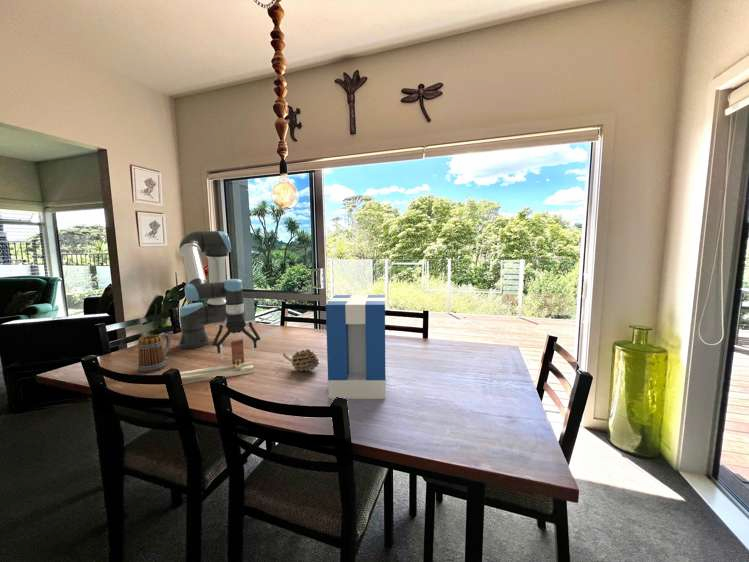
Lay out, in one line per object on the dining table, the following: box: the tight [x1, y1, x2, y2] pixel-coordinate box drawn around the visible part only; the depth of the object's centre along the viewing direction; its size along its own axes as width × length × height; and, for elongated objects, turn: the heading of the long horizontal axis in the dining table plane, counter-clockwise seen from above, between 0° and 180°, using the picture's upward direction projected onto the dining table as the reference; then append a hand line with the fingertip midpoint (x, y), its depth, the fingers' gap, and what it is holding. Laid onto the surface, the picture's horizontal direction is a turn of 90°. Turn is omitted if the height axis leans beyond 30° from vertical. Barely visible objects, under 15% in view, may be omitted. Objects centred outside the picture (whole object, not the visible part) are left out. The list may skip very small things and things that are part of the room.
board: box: [179, 361, 254, 385], centre depth 137 cm, size 9×30×2 cm, turn 114°
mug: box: [137, 332, 171, 374], centre depth 146 cm, size 16×11×15 cm
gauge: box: [230, 337, 245, 370], centre depth 142 cm, size 14×5×12 cm, turn 24°
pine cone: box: [282, 348, 320, 372], centre depth 142 cm, size 22×10×10 cm, turn 62°
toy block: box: [325, 294, 387, 400], centre depth 123 cm, size 21×21×35 cm
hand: (238, 357), depth 147 cm, fingers open, 13 cm apart
